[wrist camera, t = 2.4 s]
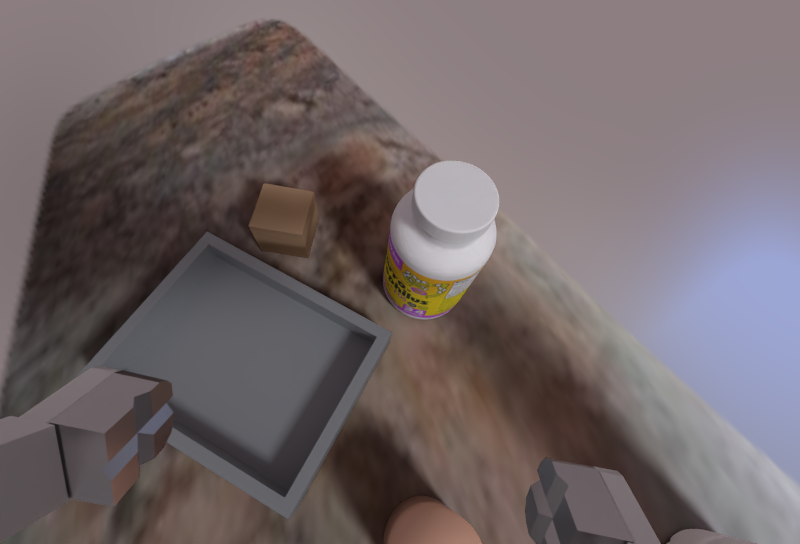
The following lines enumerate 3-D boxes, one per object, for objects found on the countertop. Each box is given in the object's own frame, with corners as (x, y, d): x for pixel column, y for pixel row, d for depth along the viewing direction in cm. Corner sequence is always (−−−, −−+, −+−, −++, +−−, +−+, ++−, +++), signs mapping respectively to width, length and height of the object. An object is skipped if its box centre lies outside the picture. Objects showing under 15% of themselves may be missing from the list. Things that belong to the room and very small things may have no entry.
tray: (296, 511, 25) (288, 519, 22) (101, 388, 26) (71, 381, 24) (389, 342, 30) (392, 332, 27) (220, 249, 31) (207, 231, 29)
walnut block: (308, 258, 32) (301, 234, 28) (261, 250, 32) (248, 226, 28) (319, 218, 34) (314, 191, 30) (274, 211, 34) (263, 183, 30)
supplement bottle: (366, 274, 32) (369, 176, 20) (428, 236, 34) (463, 128, 22) (414, 338, 30) (448, 272, 18) (476, 294, 32) (542, 209, 20)
